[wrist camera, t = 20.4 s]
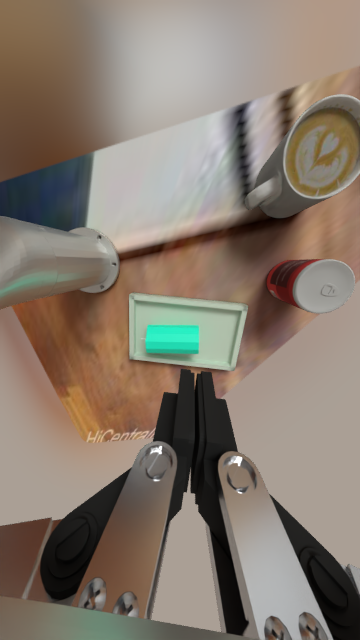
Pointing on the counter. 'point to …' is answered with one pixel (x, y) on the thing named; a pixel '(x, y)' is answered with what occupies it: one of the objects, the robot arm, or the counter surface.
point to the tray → (212, 317)
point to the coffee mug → (311, 159)
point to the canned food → (312, 284)
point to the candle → (172, 339)
